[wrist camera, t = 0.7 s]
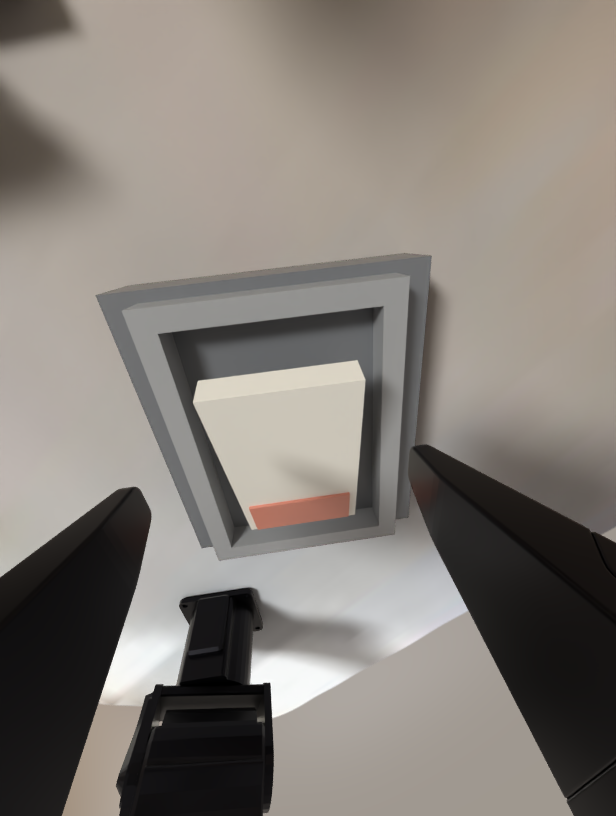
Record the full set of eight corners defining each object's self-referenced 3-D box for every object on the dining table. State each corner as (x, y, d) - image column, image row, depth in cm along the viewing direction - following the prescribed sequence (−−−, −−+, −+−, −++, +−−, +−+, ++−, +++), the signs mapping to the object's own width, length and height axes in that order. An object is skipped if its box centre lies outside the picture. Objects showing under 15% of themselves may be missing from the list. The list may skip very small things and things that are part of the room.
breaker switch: (350, 496, 18) (355, 516, 17) (251, 510, 18) (251, 532, 17) (357, 360, 11) (366, 382, 10) (197, 380, 11) (192, 405, 10)
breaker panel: (393, 486, 23) (417, 536, 19) (210, 512, 23) (196, 569, 19) (405, 253, 15) (449, 257, 12) (126, 285, 15) (74, 301, 11)
